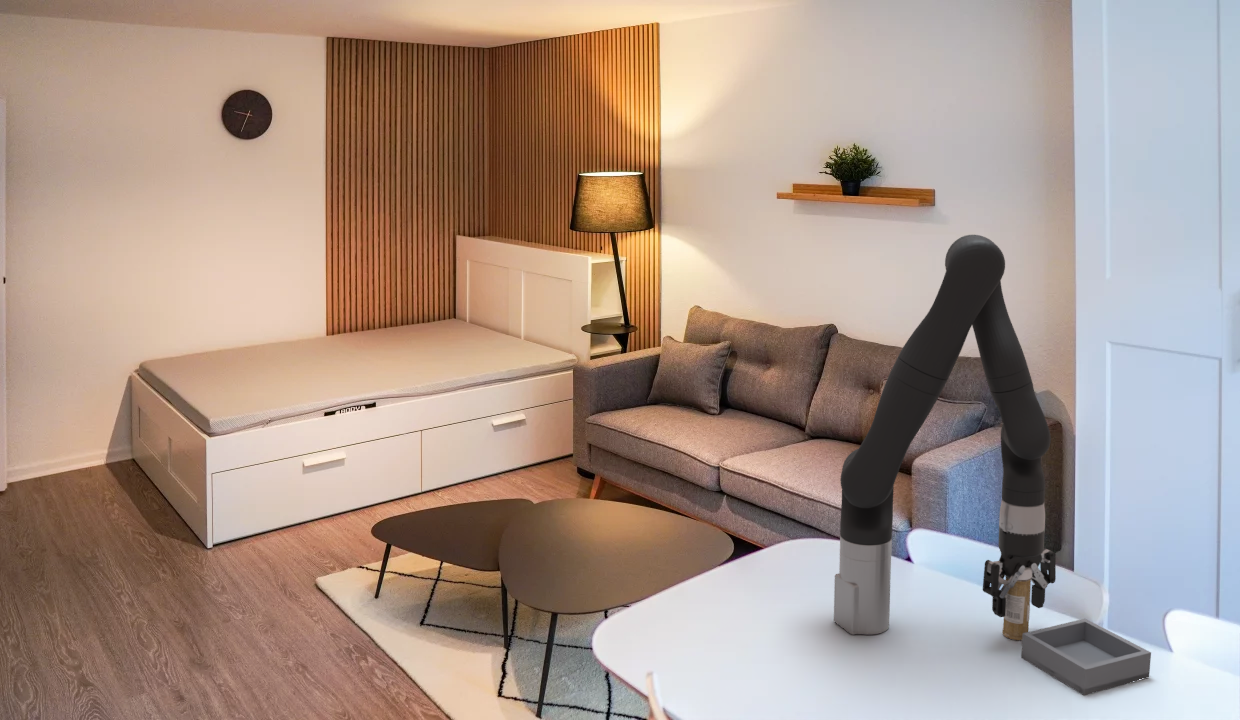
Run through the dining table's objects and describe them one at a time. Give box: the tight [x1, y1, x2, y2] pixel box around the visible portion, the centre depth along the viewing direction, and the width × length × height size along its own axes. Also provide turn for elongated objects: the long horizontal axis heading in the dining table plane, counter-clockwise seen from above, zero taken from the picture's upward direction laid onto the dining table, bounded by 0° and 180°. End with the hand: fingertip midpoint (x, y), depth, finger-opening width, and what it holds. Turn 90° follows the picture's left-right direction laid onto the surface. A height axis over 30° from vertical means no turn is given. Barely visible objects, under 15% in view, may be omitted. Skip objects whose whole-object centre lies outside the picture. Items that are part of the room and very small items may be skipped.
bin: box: [1020, 618, 1152, 696], centre depth 177 cm, size 14×14×4 cm
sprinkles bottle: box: [1001, 567, 1032, 641], centre depth 188 cm, size 5×5×13 cm
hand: (1018, 610), depth 189 cm, fingers open, 8 cm apart
